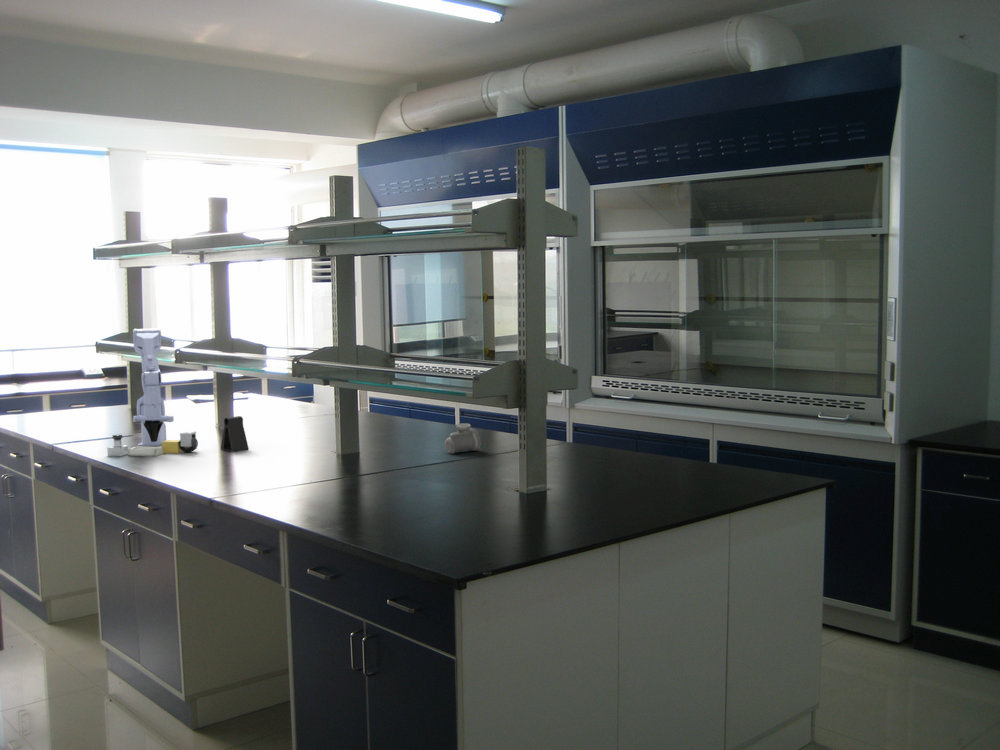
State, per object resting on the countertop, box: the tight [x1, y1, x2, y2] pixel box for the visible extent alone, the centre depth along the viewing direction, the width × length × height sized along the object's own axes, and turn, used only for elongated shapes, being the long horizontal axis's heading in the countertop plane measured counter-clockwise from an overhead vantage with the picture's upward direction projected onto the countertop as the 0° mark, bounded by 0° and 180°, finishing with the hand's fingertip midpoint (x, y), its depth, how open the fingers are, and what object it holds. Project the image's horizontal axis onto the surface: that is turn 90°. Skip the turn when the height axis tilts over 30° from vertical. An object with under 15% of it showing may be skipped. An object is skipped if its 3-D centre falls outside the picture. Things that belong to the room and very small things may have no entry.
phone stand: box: [220, 415, 250, 453], centre depth 328 cm, size 9×6×12 cm, turn 49°
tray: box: [128, 445, 165, 457], centre depth 320 cm, size 6×10×2 cm, turn 83°
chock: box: [161, 439, 183, 454], centre depth 325 cm, size 4×6×4 cm, turn 83°
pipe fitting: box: [444, 422, 482, 455], centre depth 320 cm, size 12×8×10 cm
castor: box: [179, 430, 199, 454], centre depth 324 cm, size 4×6×7 cm
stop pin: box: [112, 434, 123, 447], centre depth 320 cm, size 3×3×7 cm
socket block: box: [107, 444, 129, 457], centre depth 320 cm, size 5×5×3 cm
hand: (154, 441), depth 326 cm, fingers closed
